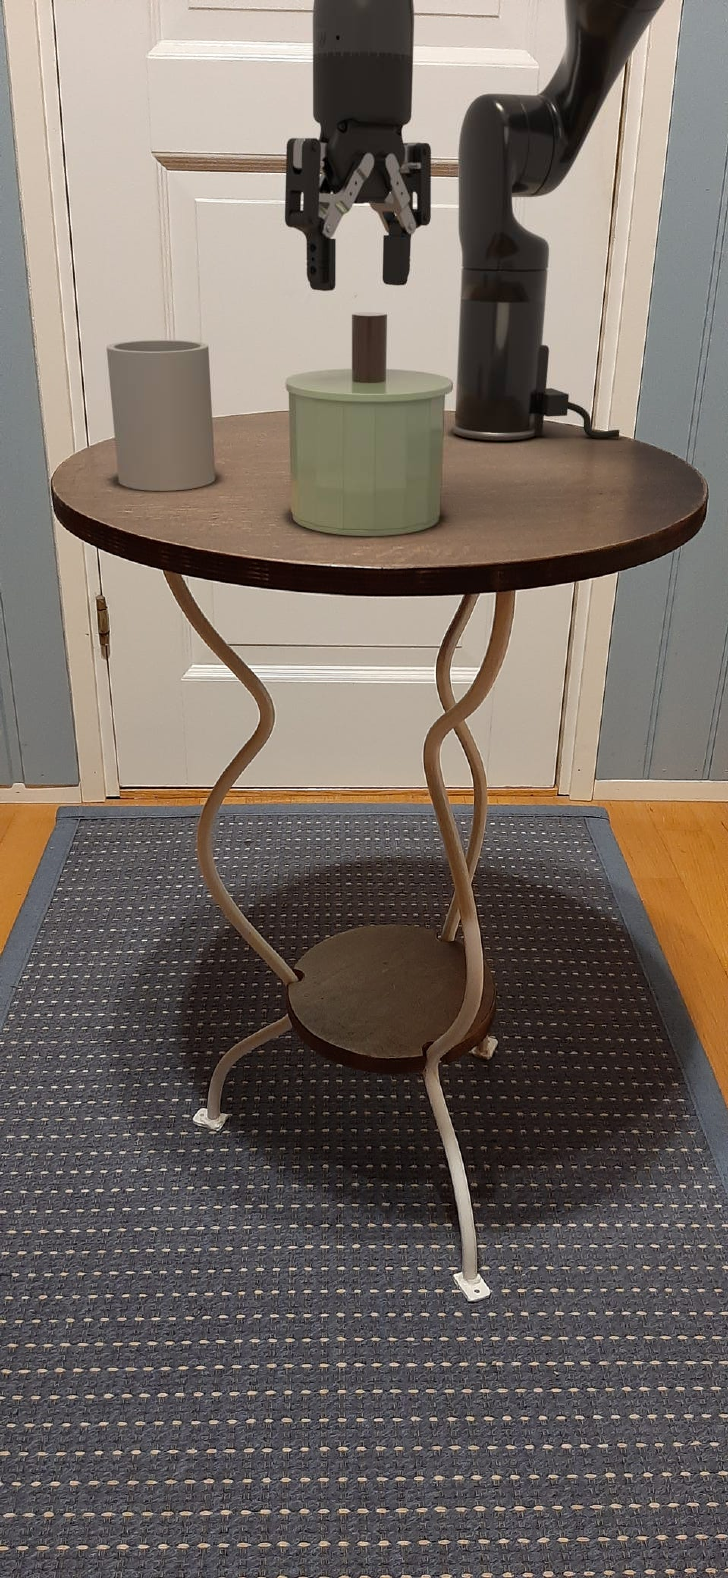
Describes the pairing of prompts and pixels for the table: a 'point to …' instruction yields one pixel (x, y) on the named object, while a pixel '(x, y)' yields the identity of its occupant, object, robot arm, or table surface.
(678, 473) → the table surface
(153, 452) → the cup
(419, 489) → the jar
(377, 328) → the jar lid
